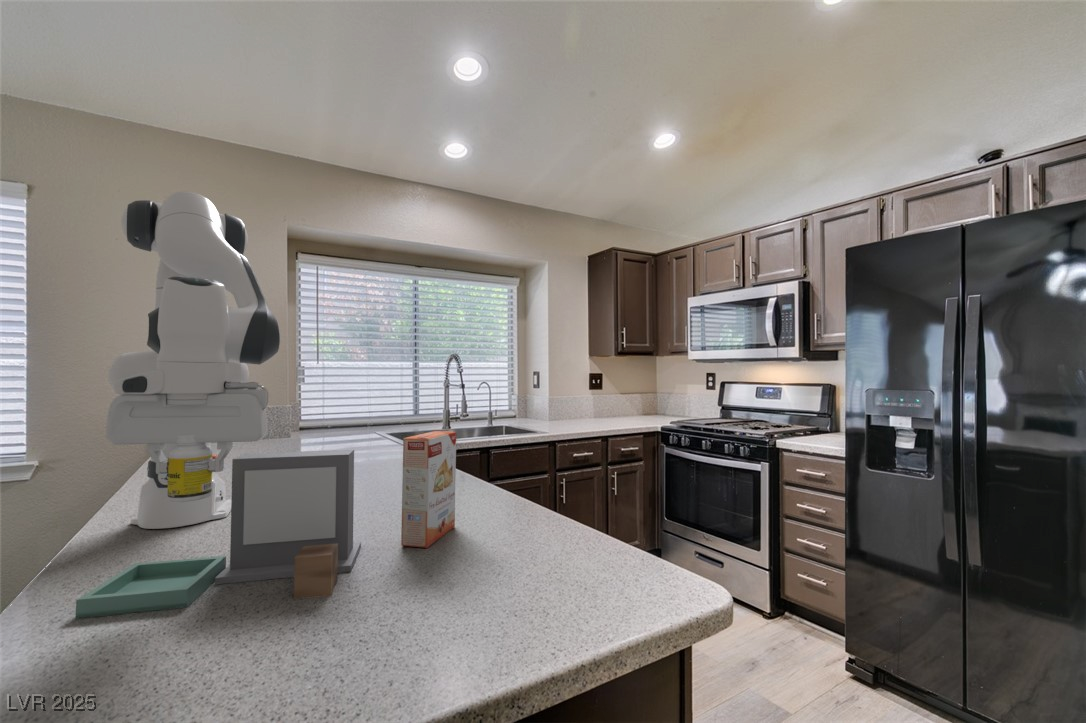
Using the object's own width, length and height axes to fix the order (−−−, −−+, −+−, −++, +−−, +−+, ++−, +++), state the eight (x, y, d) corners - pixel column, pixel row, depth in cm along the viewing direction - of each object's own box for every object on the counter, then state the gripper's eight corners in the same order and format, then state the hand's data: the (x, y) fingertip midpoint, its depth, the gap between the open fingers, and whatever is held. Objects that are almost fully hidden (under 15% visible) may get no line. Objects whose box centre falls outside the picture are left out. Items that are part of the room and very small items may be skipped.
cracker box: (429, 549, 88) (429, 438, 89) (399, 547, 89) (400, 437, 90) (457, 526, 102) (457, 430, 103) (431, 525, 103) (432, 430, 104)
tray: (134, 579, 75) (135, 563, 76) (225, 570, 79) (226, 555, 79) (75, 618, 63) (76, 599, 63) (187, 607, 66) (187, 589, 66)
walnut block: (302, 585, 73) (303, 546, 73) (337, 581, 74) (337, 543, 75) (294, 599, 68) (294, 557, 69) (330, 595, 69) (331, 554, 70)
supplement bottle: (163, 498, 71) (165, 433, 71) (206, 491, 75) (208, 430, 75) (171, 505, 67) (173, 436, 68) (215, 497, 71) (217, 433, 72)
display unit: (243, 556, 85) (246, 451, 86) (360, 546, 90) (362, 447, 91) (214, 584, 73) (217, 462, 74) (350, 571, 78) (352, 456, 79)
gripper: (274, 381, 77) (272, 465, 77) (127, 380, 72) (124, 470, 72) (262, 382, 71) (259, 473, 71) (100, 381, 66) (97, 479, 66)
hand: (190, 472), depth 71 cm, fingers closed on supplement bottle, 5 cm apart
